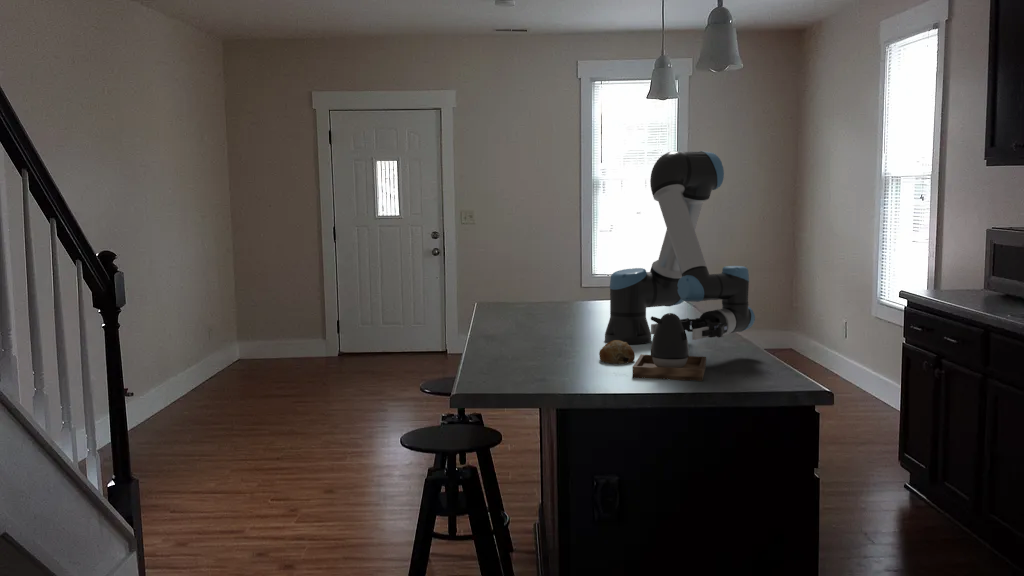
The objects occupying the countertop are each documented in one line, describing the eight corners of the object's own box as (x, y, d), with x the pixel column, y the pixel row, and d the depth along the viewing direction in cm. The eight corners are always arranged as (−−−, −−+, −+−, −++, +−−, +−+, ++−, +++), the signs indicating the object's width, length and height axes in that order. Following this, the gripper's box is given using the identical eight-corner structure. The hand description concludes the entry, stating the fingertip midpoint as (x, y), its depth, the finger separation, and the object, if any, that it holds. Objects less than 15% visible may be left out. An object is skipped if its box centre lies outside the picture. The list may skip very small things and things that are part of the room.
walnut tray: (632, 377, 233) (632, 366, 232) (640, 364, 250) (640, 354, 250) (702, 381, 228) (702, 369, 228) (705, 367, 245) (706, 356, 245)
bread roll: (607, 377, 252) (614, 354, 248) (590, 356, 259) (596, 334, 256) (636, 373, 256) (643, 350, 252) (618, 353, 264) (624, 331, 260)
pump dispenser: (646, 365, 244) (646, 310, 242) (683, 364, 244) (683, 310, 243) (654, 373, 234) (655, 316, 232) (693, 372, 234) (694, 315, 233)
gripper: (755, 341, 244) (711, 351, 230) (680, 331, 262) (635, 340, 248) (755, 314, 244) (712, 322, 229) (680, 306, 261) (635, 313, 247)
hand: (672, 331), depth 238 cm, fingers open, 13 cm apart
